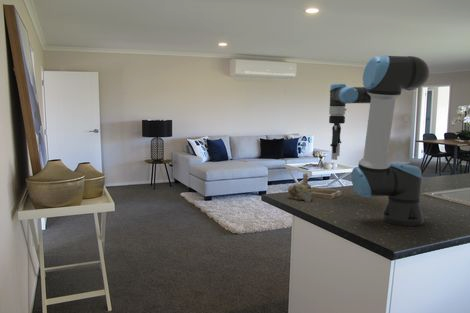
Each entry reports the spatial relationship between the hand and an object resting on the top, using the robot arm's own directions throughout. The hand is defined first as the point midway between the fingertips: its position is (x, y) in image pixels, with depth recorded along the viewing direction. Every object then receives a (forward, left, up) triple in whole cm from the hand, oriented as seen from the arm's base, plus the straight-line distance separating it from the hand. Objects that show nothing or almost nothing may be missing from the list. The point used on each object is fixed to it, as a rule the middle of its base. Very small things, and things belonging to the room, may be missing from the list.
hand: (335, 157), depth 190 cm
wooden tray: (+1, +8, -20) cm, 22 cm away
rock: (-14, +11, -21) cm, 28 cm away
